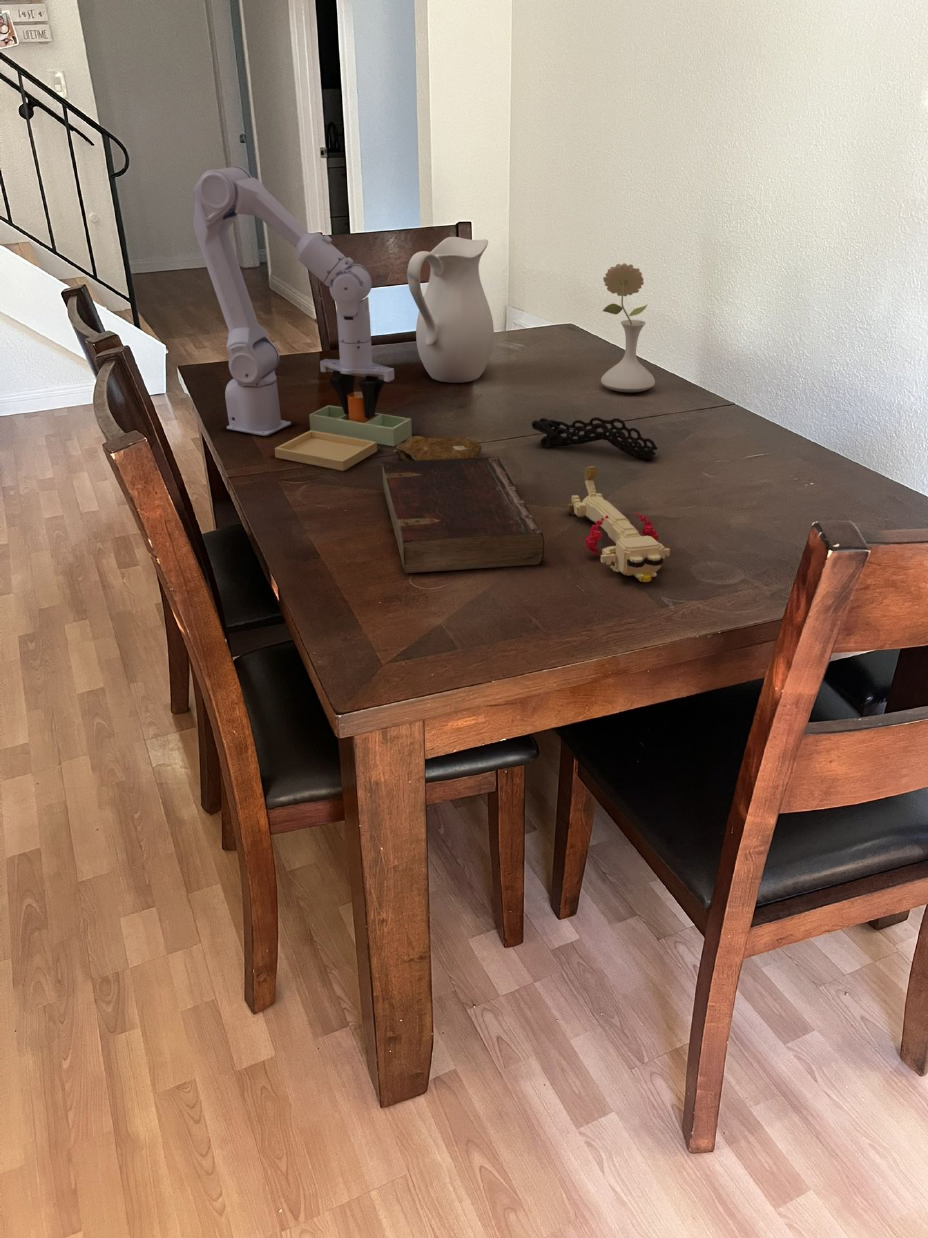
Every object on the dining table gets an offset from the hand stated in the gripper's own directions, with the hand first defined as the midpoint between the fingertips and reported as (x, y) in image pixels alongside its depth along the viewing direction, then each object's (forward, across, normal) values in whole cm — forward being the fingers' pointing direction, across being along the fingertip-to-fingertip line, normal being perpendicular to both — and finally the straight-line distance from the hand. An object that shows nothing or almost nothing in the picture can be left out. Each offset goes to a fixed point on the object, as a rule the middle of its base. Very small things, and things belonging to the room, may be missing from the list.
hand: (359, 414), depth 165 cm
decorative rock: (+4, +20, -7) cm, 21 cm away
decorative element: (+4, +42, +10) cm, 43 cm away
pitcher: (+4, -2, +38) cm, 39 cm away
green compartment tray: (+4, 0, 0) cm, 4 cm away
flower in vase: (+4, +34, +50) cm, 60 cm away
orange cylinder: (+1, 0, 0) cm, 1 cm away
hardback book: (+4, +35, -28) cm, 45 cm away
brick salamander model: (+4, +58, -24) cm, 63 cm away
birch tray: (+4, 0, -12) cm, 12 cm away
